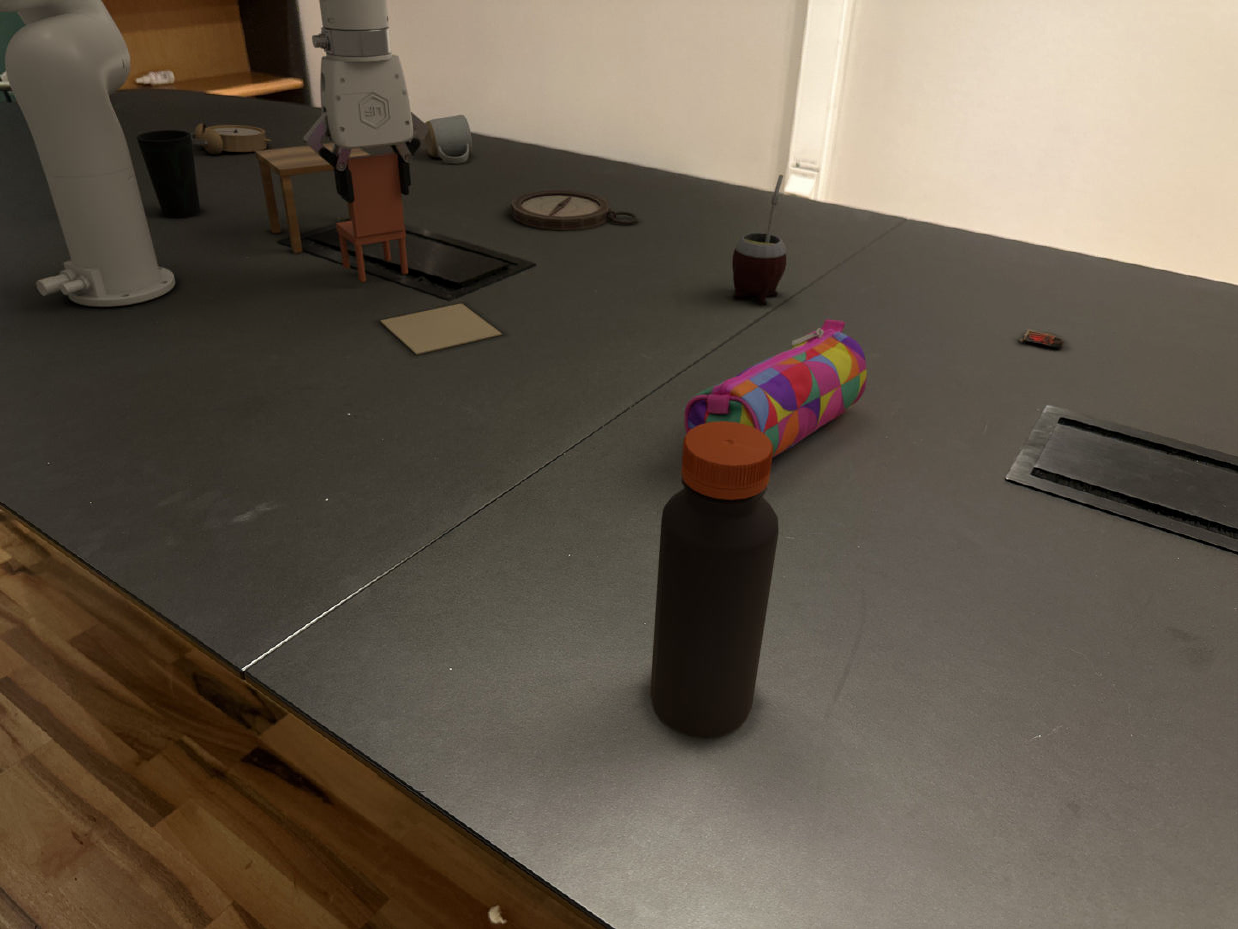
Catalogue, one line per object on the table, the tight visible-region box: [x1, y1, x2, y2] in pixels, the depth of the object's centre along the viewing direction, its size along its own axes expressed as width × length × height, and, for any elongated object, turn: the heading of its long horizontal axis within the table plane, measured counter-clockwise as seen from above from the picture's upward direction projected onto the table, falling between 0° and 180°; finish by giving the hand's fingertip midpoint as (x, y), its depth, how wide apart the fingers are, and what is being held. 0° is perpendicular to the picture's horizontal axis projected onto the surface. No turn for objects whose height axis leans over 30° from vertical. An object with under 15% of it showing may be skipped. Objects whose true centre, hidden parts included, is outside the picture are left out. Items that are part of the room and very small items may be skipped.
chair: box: [335, 151, 409, 283], centre depth 119 cm, size 7×7×16 cm
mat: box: [379, 303, 502, 356], centre depth 110 cm, size 11×11×1 cm
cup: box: [136, 129, 201, 219], centre depth 142 cm, size 8×8×12 cm
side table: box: [254, 142, 371, 254], centre depth 135 cm, size 12×14×12 cm
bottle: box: [649, 421, 779, 739], centre depth 54 cm, size 7×7×20 cm
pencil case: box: [683, 318, 868, 459], centre depth 88 cm, size 22×9×9 cm, turn 141°
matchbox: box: [1019, 329, 1065, 349], centre depth 111 cm, size 5×5×1 cm
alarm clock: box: [190, 123, 272, 155], centre depth 180 cm, size 11×5×15 cm
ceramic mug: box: [424, 114, 473, 165], centre depth 178 cm, size 11×8×8 cm
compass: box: [510, 189, 638, 231], centre depth 149 cm, size 20×16×2 cm
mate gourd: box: [731, 174, 787, 306], centre depth 118 cm, size 8×8×15 cm
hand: (375, 194), depth 115 cm, fingers closed on chair, 6 cm apart
